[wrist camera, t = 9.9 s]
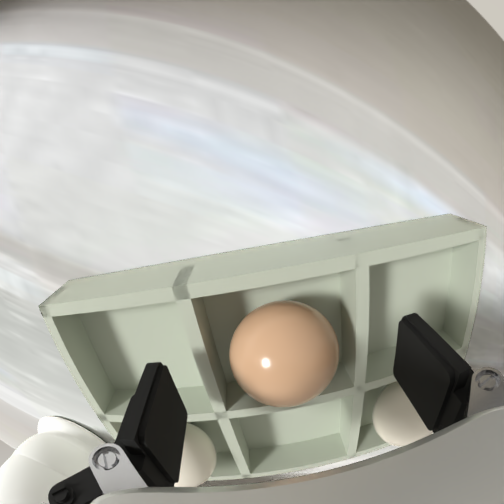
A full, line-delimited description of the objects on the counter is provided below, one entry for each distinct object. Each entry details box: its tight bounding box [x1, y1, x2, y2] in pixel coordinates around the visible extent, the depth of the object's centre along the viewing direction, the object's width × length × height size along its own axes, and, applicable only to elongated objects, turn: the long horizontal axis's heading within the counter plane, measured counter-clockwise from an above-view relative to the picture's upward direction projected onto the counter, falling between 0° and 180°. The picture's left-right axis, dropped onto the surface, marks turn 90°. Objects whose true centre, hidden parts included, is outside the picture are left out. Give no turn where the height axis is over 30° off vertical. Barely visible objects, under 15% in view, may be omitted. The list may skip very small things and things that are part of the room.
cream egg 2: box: [372, 381, 433, 447], centre depth 14 cm, size 5×5×5 cm
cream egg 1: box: [174, 422, 217, 487], centre depth 14 cm, size 5×5×5 cm
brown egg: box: [229, 300, 339, 407], centre depth 12 cm, size 5×5×5 cm
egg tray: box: [39, 214, 487, 481], centre depth 14 cm, size 15×22×3 cm
